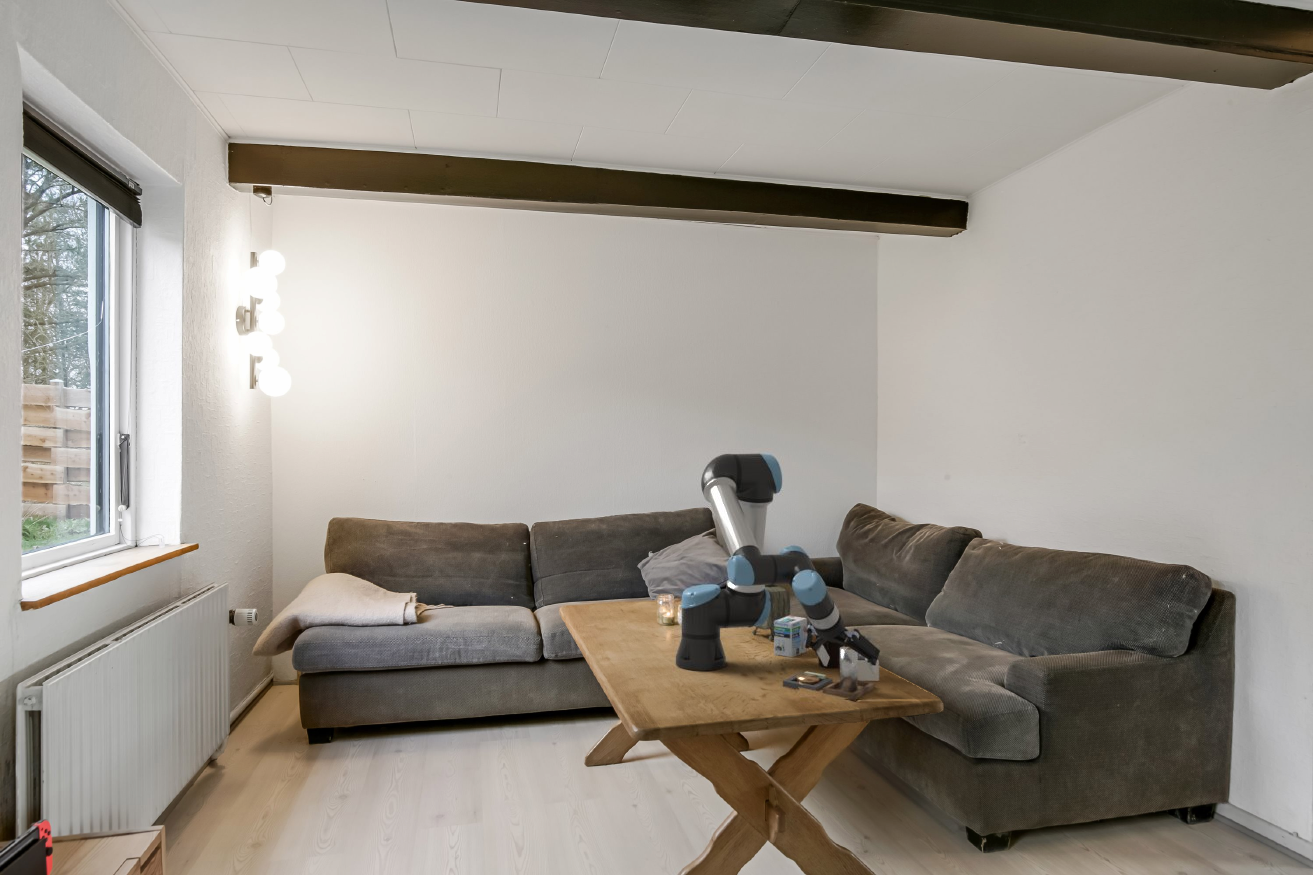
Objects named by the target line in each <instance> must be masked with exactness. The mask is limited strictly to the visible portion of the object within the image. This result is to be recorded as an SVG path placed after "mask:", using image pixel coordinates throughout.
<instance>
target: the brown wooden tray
mask: <svg viewBox="0 0 1313 875" xmlns="http://www.w3.org/2000/svg"><path fill="white" fill-rule="evenodd" d="M875 688H876V682H872V681H861V680H858V690H857V691H855V692H854V693H850V692H845V691H840V679H838V680H835V681H834V682H832V683H830V684H828V685H826V686H824V687H822V694H826V695H832V696H835V697H840V698H844V699H843V700H845V701H848V702H849V701H850V702H857V701H859V700H860V699H859V698H860V697H862V696H864V695H865V694H867V693H868V692H871V691H872V690H874V689H875Z"/></svg>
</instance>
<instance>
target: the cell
mask: <svg viewBox="0 0 1313 875" xmlns="http://www.w3.org/2000/svg"><path fill="white" fill-rule="evenodd" d="M839 680H840V691H845V692H850V693H854V692H855V691H857V690H858V653H857V652H856V651H854V650H852V649H851V648H849V647H845V646H844V647H841V648H840V668H839Z"/></svg>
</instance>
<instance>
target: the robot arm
mask: <svg viewBox="0 0 1313 875" xmlns="http://www.w3.org/2000/svg"><path fill="white" fill-rule="evenodd" d="M700 486H701V491H702V494H703V497H704V499H705V500H706V501H707V502H708V503H710V505H711V508H712V510H713V513H714V516H715V518H716V521H717V523H718V526H719V529H720V531H721V534H722V537H723V539H724V541H725V544H726V547H727V549H728V552H729V555H730V557H729V558H728V560H727V563H726V572H727V578H728V580H727V581H726V587H725V588H721V587H720V585H718V584H713V583H712V584H711V583H710V584H707V583H706V584H697V585H694V586H690V587H687V588H686V589H685V590H683V591H682V594H681V602H680V603H681V604H680V608H681V639H680V641H679V646H678V648H677V652H676V655H675V665H676V666H677V667H679V668H681V669H684V670H690V671H713V670H719V669H721V668H724V667H726V665H727V657H726V653H725V651H724V648H723V644H722V641H721V629H735V628H738V629H739V628H753V627H755V626H760V625H762V624H763V623H765V622H766V620H767V618H768V616H769V613H770V606H771V602H770V595H769V592H768V590H767V589H766V588H765V585H769V584H770V585H771V584H772V585H774V584H776V585H789V586H790V587H791V589H792V591H793V593H794V596H795V597H796V598H797V600H798V602H799V604H800V606H801V607H802V609H803V611H804V612H805V614H806V616H807V619H808V620H809V623H808V624H807V630H806V632H807V640H806V644H805V648H807V650H808V649H811V650H812V651H813V652H814V653H815V655H816V656H817V657H818V656H819V657H820V659H821V661H822V663H823V665H824V666H827V664H828V661H829V658H830V657H829V655H828V654H827V652H826V650H825V648H824V646H823V643H825V642H826V641H830V642H835V643H839V644H842V645H843V646H844V647H849V648H851V649H852V650H854V651H856V652H857V653H859V654H860V655H862V656H863V657H865V661H866V663H867V665H868V667H869V669H870V671H871V673H872V674H874V675H875V673H876V669H877V666H878V665H877V663H876V662H877V660H878V659H879V656H880V653H881V650H880V649H879V648H878V647H877V646H875V645H874V644H873V643H872V642H869V641H868V640H867V639H866V638H865V637H864V636H862V635H861V634H862V633H861V632H860V631H859V629H857V628H854V629H853V631H852V630H851V631H850V630H848V629H847V628H846V626H845V623H844V620H843V617H842V615H841V613H840V611H839V608H838V607H837V606H836V604H835V602H834V600H833V598H832V596H831V594H830V592H829V590H828V588H827V585H826V583H825V581H824V580H823V578H822V576H821V575H820V574H819V573H818V571H817V570H816V568H815V566H814V564H813V562H812V560H811V558H810V556H809V555H808V553H807V552H806V551H805V550H804V548H802V547H800V546H798V545H794V544H793V545H789V546H788V547H784V548H783V549H781V551H780V552H779V553H778V554H777V553H776V554H763V553H764V544H765V534H766V524H767V523H766V522H767V513H768V512H767V510H768V505H770V504H771V503H773V500H774V494H775V495H776V494H778V493H780V492H781V489H782V487H783V474H782V469H781V466H780V463H779V461H778V460H777V458H776V457H775V456H774V455H772V454H766V453H765V454H764V453H759V452H758V453H724V454H721V455H717V456H716V457H714V458H713V459H711V460H710V462H708V463H707V465H706V467H705V468H704V470H703V473H702V475H701V480H700ZM815 633H817V634H818V636H819V637H818V638H817V639H816V638H815V639H814V640H813V638H814V636H815Z"/></svg>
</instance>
